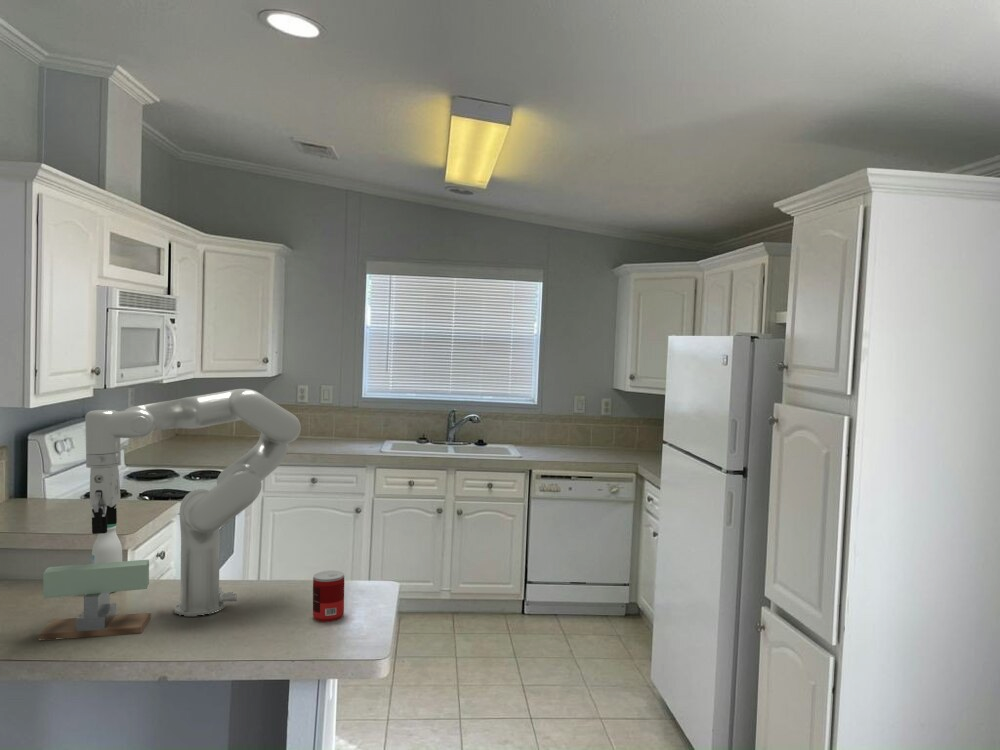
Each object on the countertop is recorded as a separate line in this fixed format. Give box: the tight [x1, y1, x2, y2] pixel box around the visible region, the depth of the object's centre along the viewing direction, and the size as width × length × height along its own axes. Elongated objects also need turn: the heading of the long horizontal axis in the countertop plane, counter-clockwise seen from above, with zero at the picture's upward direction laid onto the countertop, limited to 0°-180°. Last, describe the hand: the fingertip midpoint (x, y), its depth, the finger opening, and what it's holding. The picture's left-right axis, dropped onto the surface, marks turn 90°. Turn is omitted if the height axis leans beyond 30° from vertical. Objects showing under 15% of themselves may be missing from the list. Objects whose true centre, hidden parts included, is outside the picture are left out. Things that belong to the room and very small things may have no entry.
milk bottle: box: [91, 523, 123, 594], centre depth 205 cm, size 8×8×20 cm
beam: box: [42, 559, 150, 599], centre depth 175 cm, size 22×5×6 cm, turn 111°
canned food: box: [312, 570, 345, 623], centre depth 186 cm, size 8×8×11 cm
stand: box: [38, 592, 152, 640], centre depth 175 cm, size 22×10×10 cm, turn 104°
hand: (104, 528), depth 178 cm, fingers open, 9 cm apart
